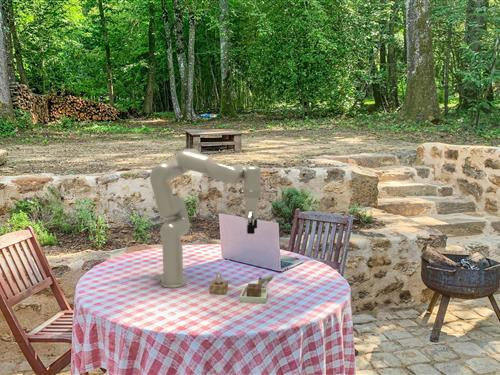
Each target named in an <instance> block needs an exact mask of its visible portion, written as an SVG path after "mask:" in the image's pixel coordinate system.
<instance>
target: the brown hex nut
mask: <svg viewBox="0 0 500 375" xmlns="http://www.w3.org/2000/svg"><path fill="white" fill-rule="evenodd" d="M208 289H209V295H226V294H227V291H229V290H228V289H229V281H228V280H224V279H221V285H217V284H216V279H212V280H211V282H210V283H209V288H208Z"/></svg>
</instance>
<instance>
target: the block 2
mask: <svg viewBox="0 0 500 375" xmlns="http://www.w3.org/2000/svg"><path fill="white" fill-rule="evenodd" d="M246 288H247V297H261V284H258V283H248V284H247V287H246Z"/></svg>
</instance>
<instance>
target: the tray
mask: <svg viewBox="0 0 500 375" xmlns="http://www.w3.org/2000/svg"><path fill="white" fill-rule="evenodd" d="M268 297H269V288H265V287H264V288H263V287H262V288H261V297H247V287H244V286H243V288H242V291H241V293H240V295H239V303H245V304H246V303H248V304H249V303H250V304H265V305H266V303H267V300H268Z"/></svg>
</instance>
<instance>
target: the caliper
mask: <svg viewBox="0 0 500 375" xmlns="http://www.w3.org/2000/svg"><path fill="white" fill-rule="evenodd" d="M272 279H274V275H271V274H270V275H269V276H266V277H262V276H259V277H258V281H257V284H261V288H263V285H264V284H265V283H266V282H268V281H270V280H272Z"/></svg>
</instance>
